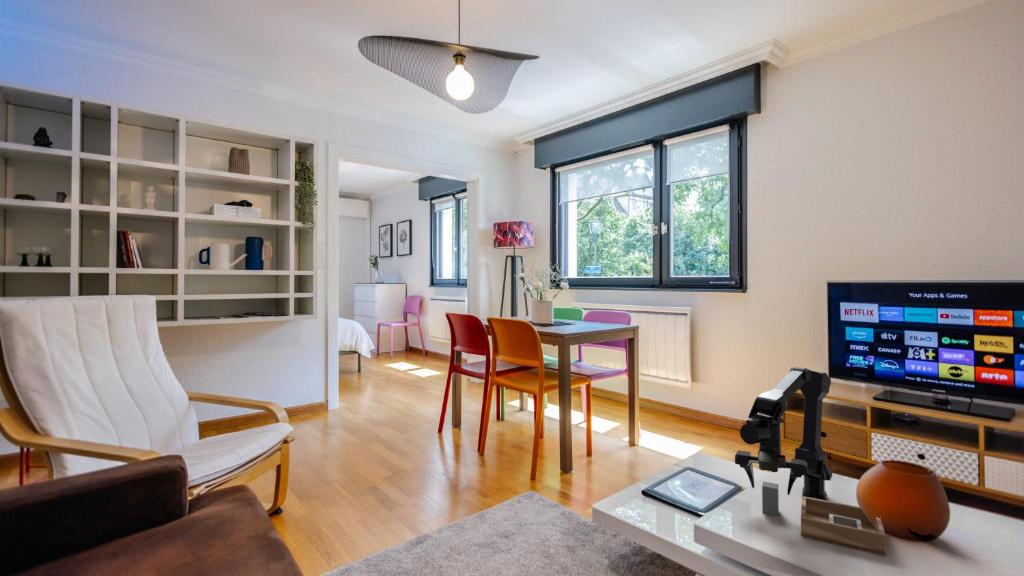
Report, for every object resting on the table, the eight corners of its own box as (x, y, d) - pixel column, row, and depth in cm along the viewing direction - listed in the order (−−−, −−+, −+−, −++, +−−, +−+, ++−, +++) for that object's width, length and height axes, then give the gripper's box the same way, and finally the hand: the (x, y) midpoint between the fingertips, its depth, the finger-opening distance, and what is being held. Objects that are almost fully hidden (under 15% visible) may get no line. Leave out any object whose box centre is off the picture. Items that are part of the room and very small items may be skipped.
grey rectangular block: (763, 507, 145) (763, 481, 145) (778, 511, 143) (778, 484, 143) (762, 513, 142) (761, 485, 142) (778, 516, 139) (777, 488, 140)
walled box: (802, 513, 141) (802, 496, 141) (878, 528, 132) (878, 510, 132) (801, 536, 128) (800, 517, 128) (886, 556, 118) (885, 535, 118)
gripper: (731, 440, 141) (732, 494, 141) (806, 451, 131) (807, 509, 131) (737, 431, 150) (737, 481, 150) (806, 440, 140) (807, 494, 140)
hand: (770, 491), depth 142 cm, fingers open, 9 cm apart
